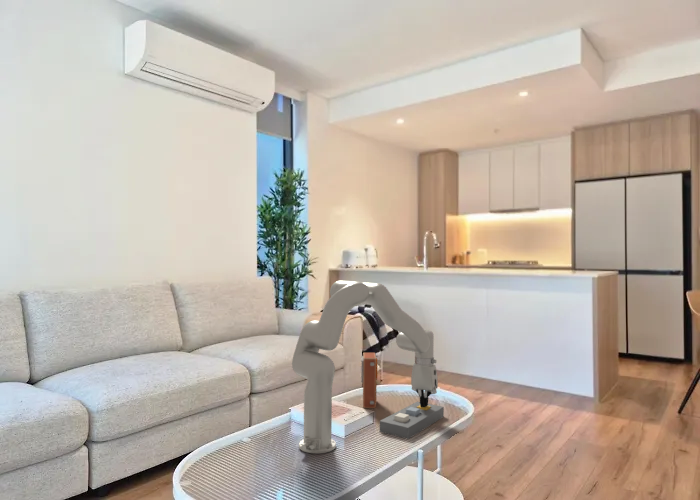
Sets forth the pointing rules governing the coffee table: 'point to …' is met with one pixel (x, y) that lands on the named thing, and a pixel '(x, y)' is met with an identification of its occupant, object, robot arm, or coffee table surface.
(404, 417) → the white button
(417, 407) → the amber button
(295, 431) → the coffee table surface
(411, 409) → the slate button
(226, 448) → the coffee table surface
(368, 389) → the terracotta rectangular block
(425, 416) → the button strip
